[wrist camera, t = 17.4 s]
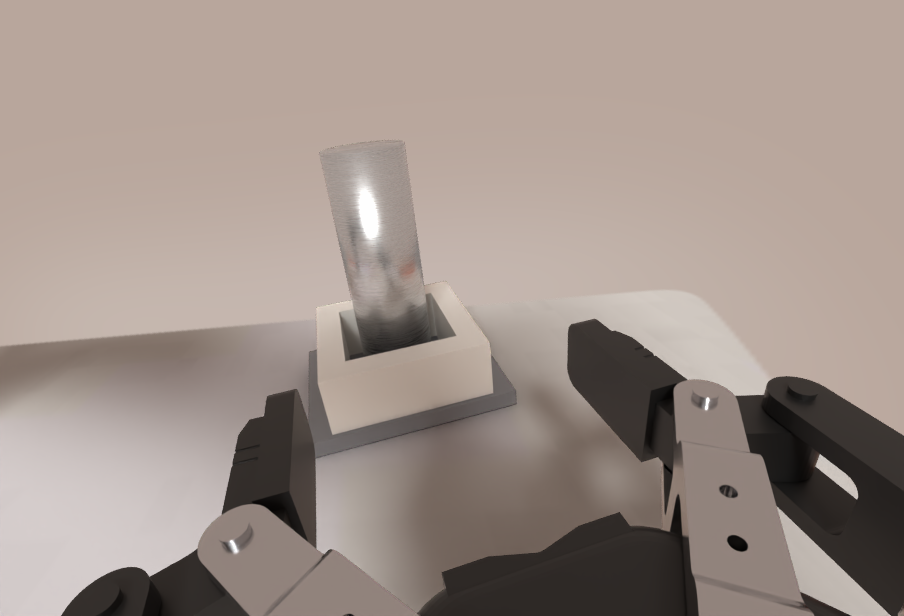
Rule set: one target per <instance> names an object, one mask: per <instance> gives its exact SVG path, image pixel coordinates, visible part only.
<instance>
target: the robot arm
mask: <svg viewBox="0 0 904 616" xmlns="http://www.w3.org/2000/svg"><path fill="white" fill-rule="evenodd" d="M567 369H568V374H569V378H570V380H571V382H572V384H573V386H574V387H575V388H576V389H577V391H578V392H579V393H580V394H581V395H582V396H583V397H584V398H585V400H586V401H587V402H588V403H589V404H590V405H591V406H592V407H593V408H594V410H595V411H596V412H597V413H598V414H599V415H600V416H601V417H602V419H603V420H604V421H605V422H606V423H607V424H608V425H609V426H610V427H611V429H612V430H613V431H614V432H615V433H616V434H617V435H618V436H619V438H620V439H621V440H622V441H623V442H624V443H625V444H626V445H627V446H628V448H629V449H630V450H631V451H632V452H633V453H634V454H635V455H636V457H637V458H638V459H639V460H640V461H641V462H644V461H647V460H650V459H653V458H656V457H659V459H660V460H661V461H662V467H661V501H662V530H661V529H658V528H652V527H645V526H629V524H628V523H627V522H626V520H625V519H624V518H623V516H622V515H621V513H620V512H619V513H616V514H613V515H610V516H607V517H604V518H601V519H598V520H595V521H592V522H589V523H586V524H583V525H580V526H578V527H577V528H575V529H574V530H572V531H571V532H569V533H568V534H566V535H565V536H564V537H562V538H561V539H559V540H558V541H556V542H555V543H554V544H552V545H551V546H549V547H548V548H546V549H545V550H543V551H541V552H538V553H529V554H516V555H503V556H490V557H486V558H483V559H480V560H477V561H474V562H471V563H468V564H465V565H462V566H459V567H456V568H453V569H450V570H447V571H444V572H442V577H443V582H444V588H445V589H444V590H442V591H441V592H440V593H438V594H437V595H435V596H434V597H433V598H432V599H431V600H430V601H428V602H427V603H426V604H425V605H424V606H423V607H422V609H421V610H420V611H419V612H418V613H415V612H414V611H413V610H412V609H410V608H409V607H408V606H407V605H405V604H404V603H403V602H401V601H400V600H399V599H398V598H396V597H395V596H394V595H393V594H391V593H390V592H389V591H388V590H386V589H385V588H384V587H382V586H381V585H380V584H379V583H377V582H376V581H375V580H374V579H372V578H371V577H370V576H369V575H367V574H366V573H365V572H363V571H362V570H361V569H360V568H358V567H357V566H356V565H355V564H353V563H352V562H351V561H349V560H348V559H347V558H346V557H344V556H343V555H342V554H340V553H339V552H337V551H335V550H332V549H330V550H328V551H327V552H326V553H325V554H323V553H321V552H320V551H318V550H317V549H316V472H315V448H314V442H313V437H312V433H311V430H310V427H309V423H308V420H307V417H306V414H305V411H304V408H303V404H302V401H301V398H300V395H299V392H298V391H297V389H294V390H290V391H286V392H282V393H278V394H273V395H269V396H267V400H266V407H265V413H264V416H263V417H259V418H255V419H251V420H249V421H248V423H247V424H246V426H245V427H244V428H243V430H242V431H241V432H240V434H239V435H238V440H237V444H236V449H235V452H236V453H235V454H234V459H233V463H232V464H233V467H232V468H231V473H230V477H229V482H228V487H227V492H226V496H225V501H224V506H223V510H222V515H221V516H220V517H218V518H217V519H216V520H215V521H213V522H212V523H211V525H210V526H209V527H208V528H207V529H206V530H205V532H204V533H203V535H202V537H201V539H200V541H199V544H198V549H196V550H195V551H194V552H192V553H191V554H189V555H188V556H186V557H184V558H183V559H181V560H179V561H177V562H176V563H174V564H172V565H170V566H168V567H167V568H165V569H163V570H161V571H159V572H158V573H156V574H154V575H152V576H150V577H149V576H148V574H147V573H146V572H145V571H144V570H142V569H140V568H137V567H127V568H122V569H118V570H115V571H113V572H110V573H108V574H106V575H104V576H102V577H100V578H99V579H97V580H96V581H94V582H93V583H91V584H90V585H89V586H87V587H86V588H85V589H84V590H82V591H81V592H80V593H79V594H78V595H77V596H76V597H75V598H74V599H73V600H72V601H71V603H70V604H69V605H68V606H67V608H66V609H65V611H64V612H63V614H62V615H61V616H850V615H848V614H846V613H844V612H842V611H840V610H838V609H836V608H833V607H831V606H829V605H827V604H825V603H823V602H821V601H819V600H817V599H814V598H812V597H810V596H808V595H806V594H804V593H802V592H800V590H799V586H798V583H797V579H796V575H795V572H794V568H793V564H792V561H791V557H790V554H789V550H788V546H787V543H786V539H785V535H784V532H783V528H782V524H781V521H780V517H779V514H778V510H777V507H778V508H779V509H780V510H782V511H783V512H784V513H785V514H786V515H787V516H788V517H789V518H790V519H791V520H792V521H793V522H794V523H795V524H796V525H797V526H798V527H799V528H800V529H801V530H802V531H803V532H804V533H805V534H807V535H808V536H809V537H810V538H811V539H812V540H813V541H814V542H815V543H816V544H817V545H818V546H819V547H820V548H821V549H822V550H823V551H824V552H825V553H826V554H827V555H828V556H829V557H830V558H831V559H833V560H834V561H835V562H836V563H837V564H838V565H839V566H840V567H841V568H842V569H843V570H844V571H845V572H846V573H847V574H848V575H849V576H850V577H851V578H852V579H853V580H854V581H855V582H856V583H858V584H859V585H860V586H861V587H862V588H863V589H864V590H865V591H866V592H867V593H868V594H869V595H870V596H871V597H872V598H873V599H874V600H875V601H876V602H877V603H878V604H879V605H880V606H881V607H883V608H884V609H885V610H886V611H887V612H888V613H889V614H890V615H891V616H904V436H903V435H902V434H900V433H898V432H897V431H895V430H894V429H892V428H890V427H889V426H887V425H885V424H884V423H882V422H881V421H879V420H877V419H876V418H874V417H872V416H871V415H869V414H868V413H866V412H864V411H863V410H861V409H860V408H858V407H856V406H855V405H853V404H851V403H850V402H848V401H847V400H845V399H843V398H842V397H840V396H838V395H837V394H835V393H834V392H832V391H830V390H829V389H827V388H826V387H824V386H822V385H820V384H818V383H815V382H813V381H810V380H807V379H803V378H798V377H787V376H786V377H777V378H773V379H771V380H770V381H769V382H768V383H767V386H766V390H765V393H764V395H749V396H735V395H734V394H733V393H732V392H731V391H729V390H728V389H727V388H725V387H723V386H721V385H719V384H716V383H713V382H710V381H705V380H687V379H686V378H684V377H683V376H682V375H680V374H679V373H678V372H677V371H675V370H674V369H673V368H671V367H670V366H669V365H667V364H666V363H665V362H663V361H662V360H661V359H659V358H658V357H657V356H654V355H653V353H652V352H650V351H649V350H648V349H646V348H644V346H642V345H641V344H640V343H638V342H637V341H636V340H635V339H633V338H632V337H630V336H627V335H625V334H622V333H620V332H617V331H611V330H609V329H608V328H607V327H606V326H604V325H603V324H602V323H601V322H599V321H598V320H596V319H592V320H588V321H583V322H579V323H575V324H571V325H570V327H569V330H568V362H567ZM820 454H821V455H822V456H823V457H825V458H826V459H827V460H829V461H830V462H831V463H833V464H834V465H835V466H837V467H838V468H839V469H840V470H842V471H843V472H844V473H846V474H847V475H848V476H849V477H850V478H851V479H852V481H853V482H854V484H855V485H856V487H857V490H858V499H857V500H856V499H855V498H854V497H853V496H851V495H850V494H849V493H848V492H846V491H845V490H844V489H843V488H841V487H840V486H839V485H838V484H836V483H835V482H834V481H833V480H831V479H830V478H829V477H828V476H826V475H825V474H824V473H823V472H821V471H820V470H819V469H818V468H816V467H815V466H816V463H817V460H818V458H819V455H820Z"/></svg>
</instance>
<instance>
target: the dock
mask: <svg viewBox="0 0 904 616" xmlns="http://www.w3.org/2000/svg"><path fill="white" fill-rule="evenodd" d="M424 288H425V295H426V303H427V310H428V317H429V325H430V332H431V339H432V342H428V343H423V344H419V345H415V346H410V347H406V348H401V349H397V350H393V351H388V352H384V353H380V354H375V355H371V356H367V357H364V354H363V349H362V345H361V340H360V336H359V331H358V327H357V322H356V318H355V313H354V309H353V304H352V300H349V301H345V302H339V303H335V304H330V305H325V306H320V307H316V327H317V350H314V351H310V352H309V421H308V423H309V427H310V430H311V433H312V437H313V442H314V448H315V458H317V457H321V456H324V455H328V454H332V453H336V452H339V451H343V450H347V449H350V448H354V447H358V446H362V445H365V444H369V443H373V442H376V441H380V440H384V439H388V438H391V437H395V436H399V435H402V434H406V433H410V432H414V431H417V430H421V429H425V428H429V427H432V426H436V425H440V424H443V423H447V422H451V421H455V420H458V419H462V418H466V417H469V416H473V415H477V414H481V413H484V412H488V411H492V410H496V409H499V408H503V407H507V406H510V405H514V404H516V390H515V389H514V387H513V386H512V384H511V383H510V381H509V380H508V378H507V377H506V375H505V374H504V373H503V371H502V370H501V368H500V367H499V365H498V364H497V362H496V361H495V359H494V358H493V356H492V355H491V350H490V342H489V341H488V339H487V338H486V336H485V335H484V334H483V332H482V331H481V329H480V328H479V327H478V325H477V324H476V322H475V321H474V319H473V318H472V317H471V315H470V314H469V312H468V311H467V310H466V308H465V307H464V305H463V304H462V303H461V302H460V300H459V299H458V297H457V296H456V294H455V293H454V292H453V290H452V289H451V287H450V286H449V285H448V283H447V282H446V281H443V282H438V283H433V284H428V285H424Z"/></svg>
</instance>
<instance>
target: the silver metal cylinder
mask: <svg viewBox="0 0 904 616" xmlns="http://www.w3.org/2000/svg"><path fill="white" fill-rule="evenodd" d="M319 155H320V160H321V164H322V169H323V173H324V178H325V182H326V187H327V192H328V196H329V200H330V205H331V209H332V214H333V219H334V223H335V227H336V232H337V237H338V241H339V245H340V250H341V254H342V259H343V263H344V268H345V273H346V277H347V281H348V286H349V291H350V295H351V300H352V304H353V309H354V313H355V318H356V322H357V327H358V331H359V336H360V340H361V345H362V349H363V354H364V357H367V356H371V355H375V354H380V353H384V352H388V351H393V350H397V349H401V348H406V347H410V346H415V345H419V344H423V343H428V342H432V339H431V332H430V325H429V317H428V310H427V303H426V295H425V288H424V281H423V274H422V266H421V259H420V252H419V244H418V237H417V230H416V223H415V215H414V208H413V200H412V193H411V187H410V179H409V171H408V164H407V157H406V149H405V142H404V141H400V140H382V141H370V142H362V143H354V144H347V145H342V146H337V147H333V148H328V149H325V150H322V151H320V152H319Z"/></svg>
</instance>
